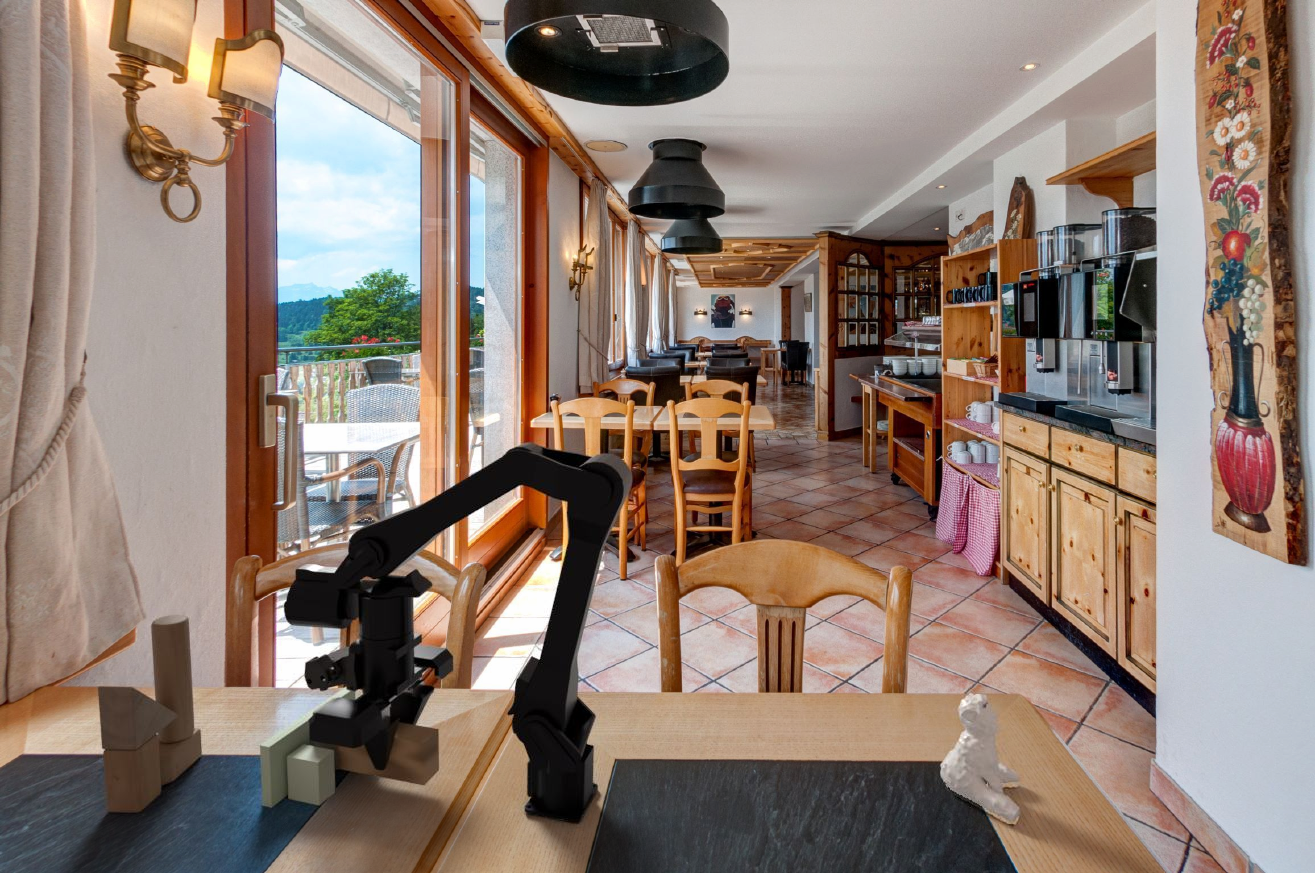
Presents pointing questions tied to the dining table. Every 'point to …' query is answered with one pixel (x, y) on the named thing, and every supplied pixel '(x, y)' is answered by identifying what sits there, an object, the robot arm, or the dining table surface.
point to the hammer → (394, 755)
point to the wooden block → (150, 723)
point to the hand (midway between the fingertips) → (389, 760)
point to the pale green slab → (298, 763)
